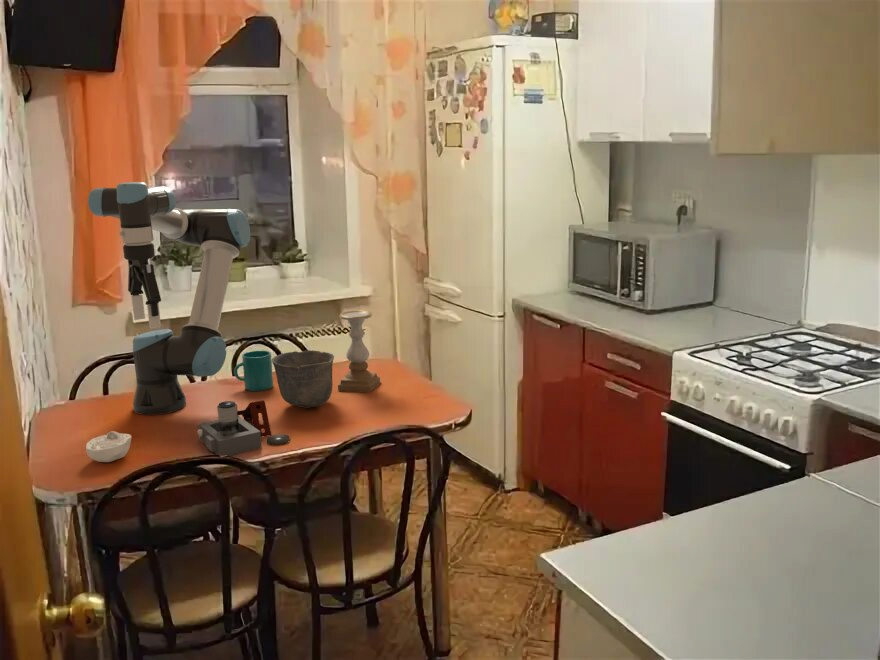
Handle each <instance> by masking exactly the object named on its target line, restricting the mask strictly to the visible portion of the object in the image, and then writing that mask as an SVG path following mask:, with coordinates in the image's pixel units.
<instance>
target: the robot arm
mask: <svg viewBox="0 0 880 660" xmlns="http://www.w3.org/2000/svg"><path fill="white" fill-rule="evenodd" d="M87 197H88V198H87V199H88V200H87V205H88V209H89V211H90V212H91V213H92V214H93V215H94V216H96V217H103V218H105V217H111V218H115V219H119V221H120V223H119V224H120V230H121V231H119V232H118V233H119V236H121V239H122V240H121V241H122V243H124V244H123V246H122V249H123V258H124V259H125V260H128V261H127V262H128V263H127V264H128V277H127V278H128V279H127V281H128V283H127V291H128V293H129V294H130V295H131V303H132V312H133V313H132V314H133V318H134V321H137V320H145V319H146V315H145V305H146V308H147V309H146V310H147V315H148V316H147V317H148V324H149V325H148V326H149V329H150V330H151V331H147V332H143V333H141V334H138V335H137V336H134V338H133V339H132V353H133V354H132V355H133V361H134V369H135V370H134V371H135V377H136V378H135V379H136V387H135V393H134V397H133V402H132V407H133V409H132V410H133V411H134V412H135V413H136V414H139V415H149V416H152V415H154V416H155V415H165V414H170V413H173V412H176V411H180V410H181V409H183V408H184V407H186V406H187V400H186V395H185V392H184V391H183V388H182V386H181V384H180V382H179V380H178V379H179V378H178V376H185V377H186V376H187V377H188V376H189V377H193V376H194V377H198V378H201V377H212V376H214V375H216V374H217V373H219V372H220V370H221V369H222V367H223V366H224V364H225V362H226V359H227V358H226V357H227V350H226V349H227V345H226V342H225V340H224V338H222V337H223V335H222V333H221V331H220V330H219V327H220V322H221V316H222V313H223V307H224V304H225V303H224V302H225V297H226V292H227V288H228V284H229V279H230V273H231V268H232V264H233V260H234V259H235V258H238V257H239V255H240V251H241V248H246V247H247V246H249V244H250V241H251V228H250V223H249V220H248V217H247V216H246V214H245V213H244V212H243V211H242V210H240V209H232V208H227V209H225V208H223V209H222V208H221V209H220V208H219V209H216V208H215V209H214V208H213V209H204V208H203V209H201V208H200V209H199V208H196V209H195V208H194V209H181V208H178V207H176V204H177V199H176V195H175V193H174V191H172V190H171V189H170V188H168V187H167V186H164V185H163V186H161V185H159V186H157V185H156V186H154V187H148V185H147V183H146V182H144V181H132V182H130V181H129V182H120V183H119V184H117V185H116V187H100V188H99V187H98V188H94V189H92V190H91V191H90V192H89V194H88V196H87ZM153 231H156V232H160V233H161V234H162V235H163V236H164V237H165V238H168V239H170V240H174V241H177V242H179V243H182V244H186V245H190V246H195V247H200V248H201V249H202V251H203V252H204V254H203V258H202V263H201V266H200V267H201V268H200V272H199V276H198V281H197V284H196V288H195V294H194V298H193V303H192V306H191V311H190V316H189V320H188V323H186V324H184V325H183V326H182V328H181V332H180V335H174V331H173V330H172V329H169V328H165V329H159V328H162V325H161V323H162V322H161V316H160V315H161V313H160V305H159V303H160V302H162V298H161V294H160V291H159V290H160V289H159V286H158V283H157V278H156V275H155V274H156V273H155V269H154V267H155V266H154V264H153V263H151V264H150V263H149V259H153V258H155V256H156V254H155V253H156V251H155V245H154V243H153V241H154V233H153ZM143 294H145V298H146V301H145V305H144V297H143ZM154 329H156V330H154Z"/></svg>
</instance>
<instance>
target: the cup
mask: <svg viewBox="0 0 880 660" xmlns="http://www.w3.org/2000/svg"><path fill="white" fill-rule="evenodd" d="M241 358H242V362H240V363H238V364H237V365H236V366H235V367H234V369H233V375H234V376H235V378H236V379H237V380H238V381H243V382H244V388H245V390H247V391H250V392H262V391H263V392H265V391H267V390H271V389H272V388H273V386H274V375H273V363H272V352H270V351H268V350H251V351H247V352H244V353H242V356H241ZM241 367H242V368H243V369H242V370H243V371H242V373H243V377H241V376H239V374H238V369H239V368H241Z"/></svg>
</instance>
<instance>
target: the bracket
mask: <svg viewBox="0 0 880 660" xmlns="http://www.w3.org/2000/svg"><path fill="white" fill-rule="evenodd" d="M266 406H267V405H266V402H265V400H257V401H256V400H255V401H251V402H249V404H248V405H247V406H246V408H245V409H242V410H237V411H238V416H242V417H243V418H242V417H241V418H242V419H244V420H245V421H246V420H250V421H252V426H253V427H255V428H256V429H258V430H259V431H260V432H261V438H263V437H262V436H264V437H268V436H267V435H270V436H272V431H271V425H270V421H269V416H268V411H267V407H266ZM259 414H261V419H262V424H260V419H259V418H260V417H259ZM262 430H264V431H263V432H262Z"/></svg>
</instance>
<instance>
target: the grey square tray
mask: <svg viewBox="0 0 880 660" xmlns="http://www.w3.org/2000/svg"><path fill="white" fill-rule="evenodd" d="M238 422H239V433H237V434H232V435H228V436H222V435H221V434H220V431H219V420H218V419H215V420H212V421H211V420H210V421H206V422H201V423H198V430H197V435H198V437H199V441H200V442H201V443H203V444H204V445H205V447H206V448H207V449H208V450H209V451H211V453H212V452H213V453H214V454H216V455H217V456H218V455H227V456H226V457H229V456H234V455H238V454H243V453H246V452H250V451H255V450H259V449H262V448H263V447H262V437H261V432H262V431H261V432H260V431H259V430H258V429H256V428H255V427H253V424H251V423H249V422H248V421H246V420H244V418H242V417H241V416H240V415H238Z"/></svg>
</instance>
